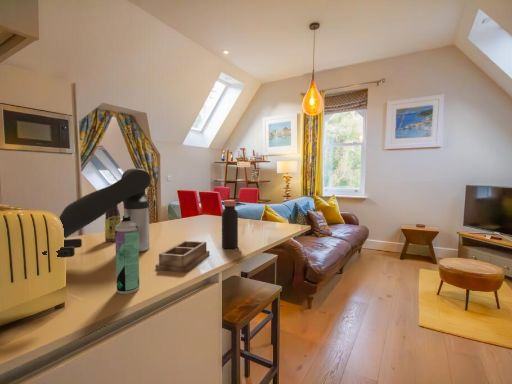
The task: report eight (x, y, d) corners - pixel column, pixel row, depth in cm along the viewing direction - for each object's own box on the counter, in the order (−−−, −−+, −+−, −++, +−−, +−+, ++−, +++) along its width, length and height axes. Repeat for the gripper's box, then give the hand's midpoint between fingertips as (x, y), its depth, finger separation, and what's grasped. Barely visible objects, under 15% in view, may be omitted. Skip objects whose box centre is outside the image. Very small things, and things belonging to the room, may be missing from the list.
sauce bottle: (109, 243, 118) (108, 199, 117) (102, 241, 121) (100, 198, 120) (123, 240, 124) (122, 198, 122) (116, 238, 127) (115, 197, 126)
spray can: (135, 283, 75) (133, 213, 73) (142, 289, 71) (140, 216, 70) (114, 289, 71) (111, 215, 70) (120, 296, 67) (118, 218, 66)
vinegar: (235, 249, 109) (235, 201, 108) (219, 248, 110) (219, 201, 109) (239, 245, 116) (239, 200, 114) (224, 244, 117) (224, 199, 116)
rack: (155, 269, 86) (155, 254, 86) (183, 252, 104) (183, 240, 104) (186, 272, 84) (186, 256, 83) (209, 254, 102) (209, 241, 102)
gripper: (7, 261, 66) (84, 253, 72) (-26, 282, 53) (71, 271, 59) (5, 231, 65) (83, 226, 72) (-28, 245, 52) (70, 238, 59)
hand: (78, 246), depth 65 cm, fingers open, 8 cm apart
